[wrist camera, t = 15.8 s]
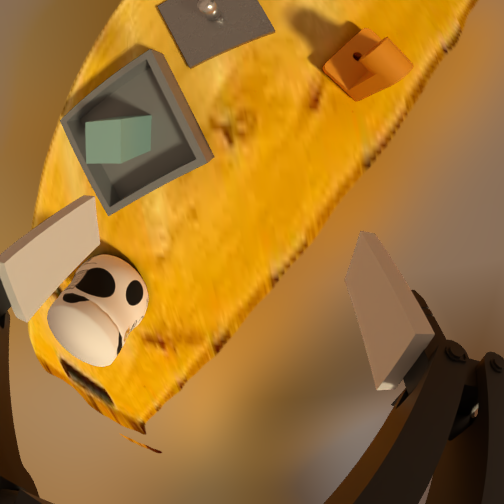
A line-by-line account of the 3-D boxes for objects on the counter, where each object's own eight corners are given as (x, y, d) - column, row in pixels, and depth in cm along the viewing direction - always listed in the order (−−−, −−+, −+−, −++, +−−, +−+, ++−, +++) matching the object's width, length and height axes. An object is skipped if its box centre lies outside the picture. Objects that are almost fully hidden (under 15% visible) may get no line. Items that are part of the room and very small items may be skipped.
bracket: (361, 29, 30) (388, 8, 19) (394, 61, 32) (430, 51, 21) (319, 69, 34) (335, 55, 24) (353, 101, 36) (381, 99, 26)
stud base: (237, -29, 26) (232, -44, 21) (275, 32, 32) (275, 21, 26) (159, 7, 29) (144, -3, 24) (191, 68, 35) (179, 63, 30)
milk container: (145, 323, 62) (117, 382, 46) (85, 292, 59) (47, 342, 43) (161, 270, 54) (124, 333, 38) (90, 235, 51) (39, 283, 35)
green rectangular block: (120, 116, 38) (85, 122, 30) (151, 115, 38) (120, 119, 30) (119, 150, 41) (86, 163, 33) (150, 150, 41) (120, 163, 32)
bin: (163, 54, 34) (150, 48, 30) (214, 157, 42) (207, 162, 38) (76, 117, 39) (60, 120, 35) (121, 206, 47) (108, 216, 43)
